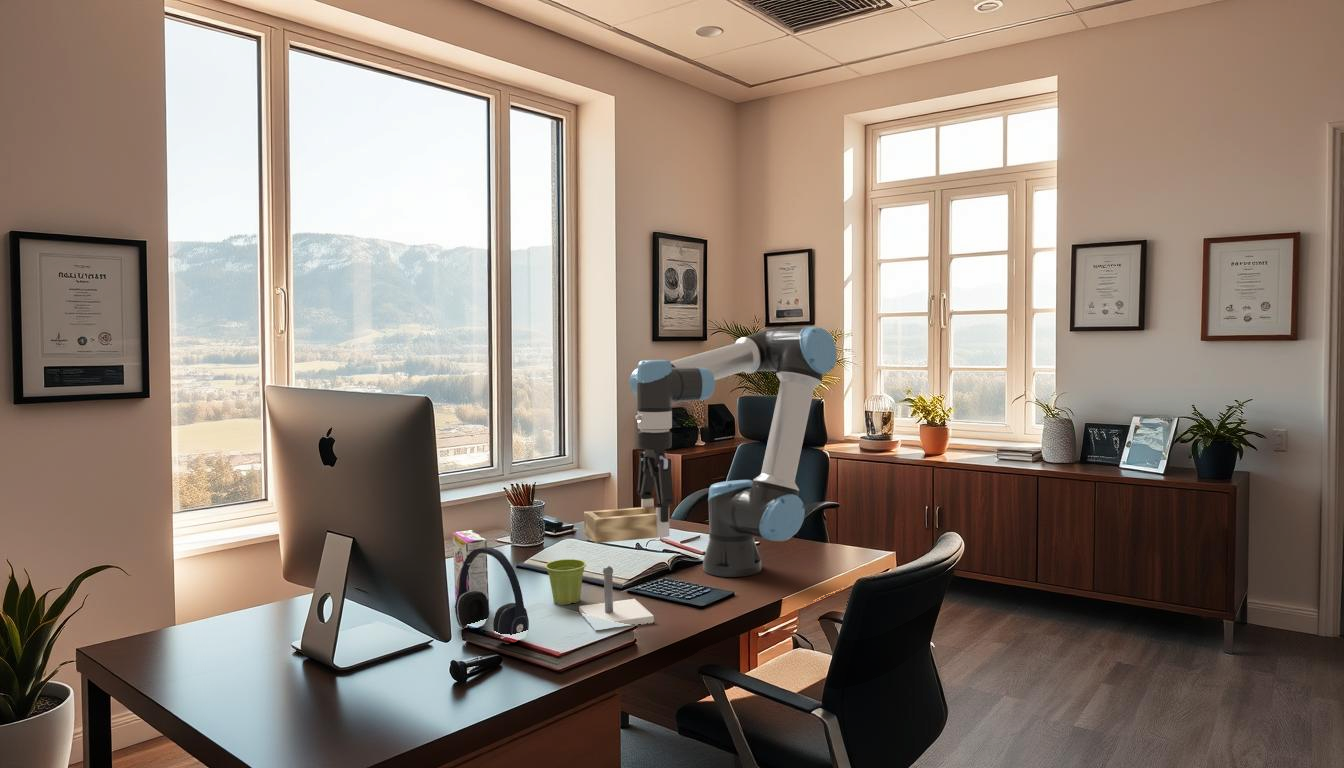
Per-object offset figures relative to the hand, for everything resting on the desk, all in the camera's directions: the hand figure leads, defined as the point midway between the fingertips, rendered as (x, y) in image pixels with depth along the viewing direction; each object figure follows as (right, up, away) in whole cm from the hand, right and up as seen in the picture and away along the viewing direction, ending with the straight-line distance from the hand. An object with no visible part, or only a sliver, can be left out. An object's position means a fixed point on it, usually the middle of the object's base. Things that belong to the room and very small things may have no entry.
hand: (655, 531), depth 193 cm
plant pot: (-21, -18, +11) cm, 30 cm away
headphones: (-34, -20, -11) cm, 41 cm away
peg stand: (-9, -18, -2) cm, 20 cm away
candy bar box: (-43, -19, +9) cm, 47 cm away
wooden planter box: (-6, 0, -3) cm, 7 cm away
